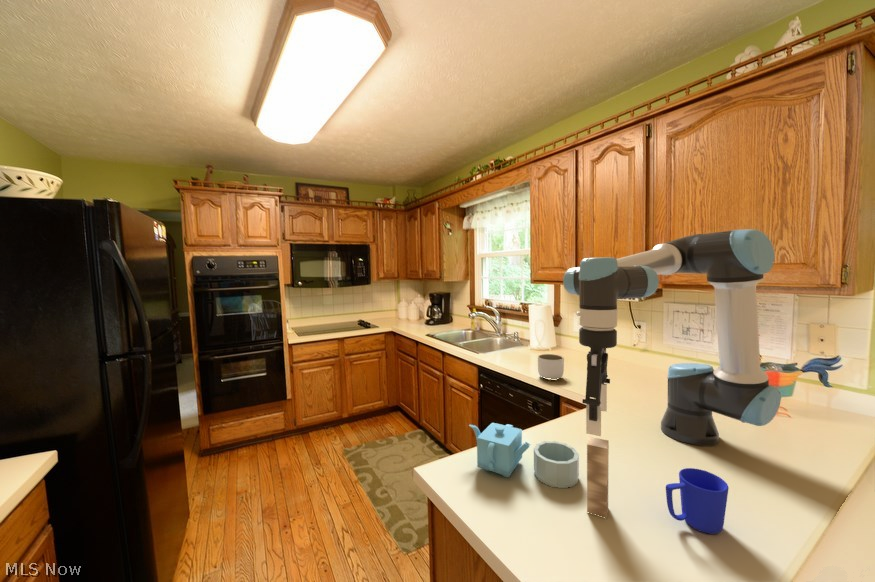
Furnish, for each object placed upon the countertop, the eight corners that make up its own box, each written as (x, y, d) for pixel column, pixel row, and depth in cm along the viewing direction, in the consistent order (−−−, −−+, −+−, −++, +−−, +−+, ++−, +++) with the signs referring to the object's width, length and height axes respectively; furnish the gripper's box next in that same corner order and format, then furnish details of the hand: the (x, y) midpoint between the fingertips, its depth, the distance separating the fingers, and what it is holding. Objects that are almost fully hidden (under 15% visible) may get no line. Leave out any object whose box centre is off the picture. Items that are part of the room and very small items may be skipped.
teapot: (520, 491, 83) (520, 447, 83) (457, 470, 93) (456, 431, 92) (538, 460, 97) (538, 422, 96) (481, 444, 106) (480, 410, 106)
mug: (652, 513, 75) (653, 470, 74) (702, 509, 76) (703, 466, 75) (682, 543, 67) (683, 495, 66) (738, 537, 68) (739, 490, 67)
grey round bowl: (581, 470, 92) (581, 447, 91) (574, 493, 82) (574, 468, 82) (540, 459, 97) (540, 437, 97) (529, 480, 88) (529, 456, 87)
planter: (542, 373, 177) (542, 352, 177) (566, 377, 170) (566, 355, 169) (534, 379, 167) (534, 358, 167) (559, 383, 160) (559, 361, 159)
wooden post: (608, 507, 77) (608, 440, 76) (606, 519, 74) (607, 448, 73) (589, 502, 79) (589, 436, 78) (587, 512, 76) (587, 444, 75)
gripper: (586, 319, 87) (586, 399, 88) (569, 336, 65) (569, 441, 66) (619, 320, 83) (619, 404, 84) (612, 339, 61) (612, 451, 63)
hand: (597, 421), depth 75 cm, fingers open, 13 cm apart
